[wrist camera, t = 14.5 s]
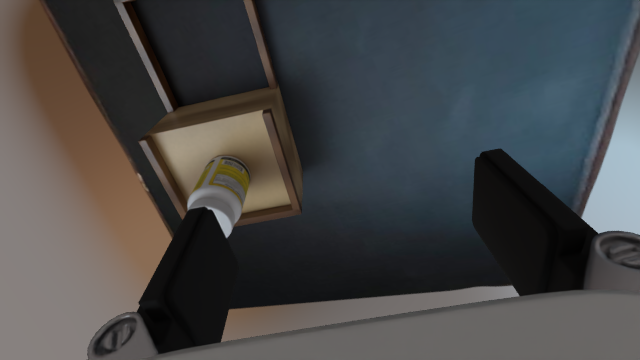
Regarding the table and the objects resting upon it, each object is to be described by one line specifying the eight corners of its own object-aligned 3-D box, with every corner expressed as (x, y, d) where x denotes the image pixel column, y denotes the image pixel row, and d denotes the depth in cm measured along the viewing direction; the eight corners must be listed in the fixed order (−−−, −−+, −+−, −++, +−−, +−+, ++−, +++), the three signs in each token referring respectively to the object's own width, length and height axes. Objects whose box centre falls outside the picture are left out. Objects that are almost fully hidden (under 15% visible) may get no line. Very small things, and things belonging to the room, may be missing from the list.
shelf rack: (118, -6, 32) (56, -1, 24) (243, -39, 31) (221, -45, 23) (211, 190, 44) (190, 235, 37) (303, 172, 43) (301, 214, 35)
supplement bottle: (215, 196, 35) (191, 250, 28) (198, 159, 33) (167, 208, 26) (257, 188, 35) (243, 241, 28) (243, 150, 32) (224, 197, 25)
